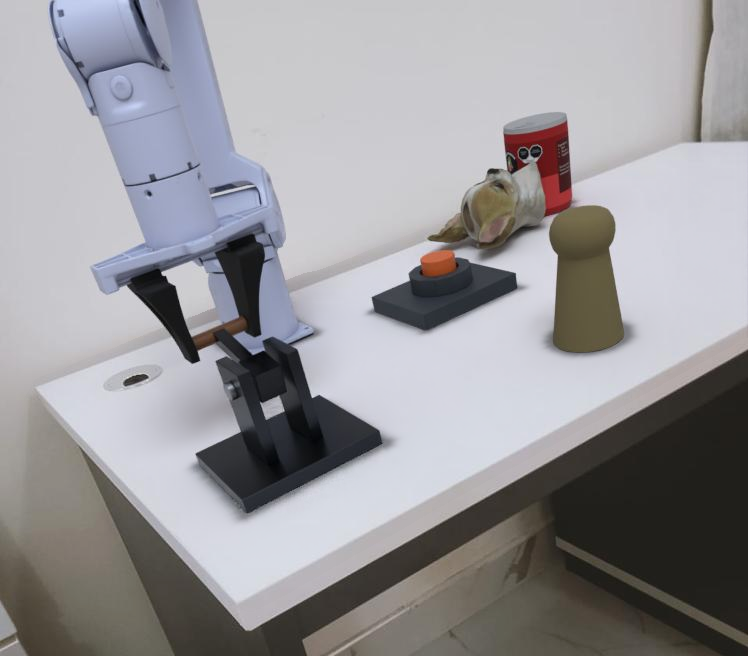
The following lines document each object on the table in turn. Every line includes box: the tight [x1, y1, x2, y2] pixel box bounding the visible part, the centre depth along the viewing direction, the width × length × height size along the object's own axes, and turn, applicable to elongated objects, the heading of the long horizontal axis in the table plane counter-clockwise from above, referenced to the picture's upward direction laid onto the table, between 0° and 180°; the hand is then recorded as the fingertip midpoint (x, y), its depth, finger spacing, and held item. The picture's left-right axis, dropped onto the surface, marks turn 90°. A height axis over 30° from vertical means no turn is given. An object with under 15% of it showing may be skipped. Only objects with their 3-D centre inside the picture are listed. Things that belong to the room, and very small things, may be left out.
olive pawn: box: [548, 204, 625, 353], centre depth 63 cm, size 6×6×11 cm
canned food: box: [502, 111, 573, 217], centre depth 98 cm, size 8×8×11 cm
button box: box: [371, 256, 518, 331], centre depth 80 cm, size 10×12×4 cm
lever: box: [191, 316, 287, 404], centre depth 59 cm, size 10×5×2 cm, turn 32°
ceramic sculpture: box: [427, 161, 546, 250], centre depth 92 cm, size 11×9×15 cm
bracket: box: [194, 336, 383, 514], centre depth 58 cm, size 10×12×9 cm
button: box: [419, 249, 457, 276], centre depth 79 cm, size 4×4×2 cm
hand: (223, 346), depth 62 cm, fingers closed on lever, 5 cm apart
